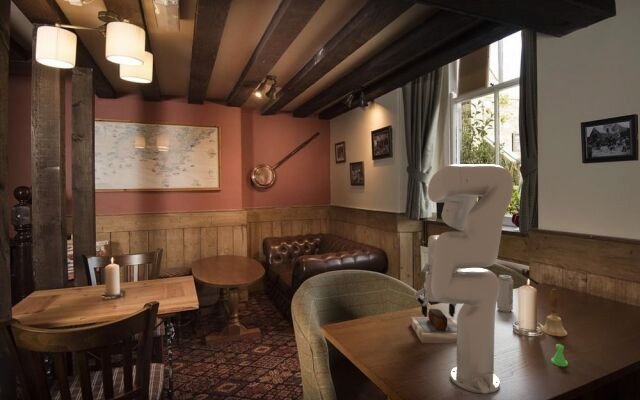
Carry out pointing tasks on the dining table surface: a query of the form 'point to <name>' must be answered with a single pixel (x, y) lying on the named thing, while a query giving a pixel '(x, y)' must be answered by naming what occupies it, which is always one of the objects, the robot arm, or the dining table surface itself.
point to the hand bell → (554, 318)
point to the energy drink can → (505, 293)
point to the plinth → (434, 330)
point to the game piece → (559, 357)
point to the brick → (437, 319)
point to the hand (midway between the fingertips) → (438, 315)
